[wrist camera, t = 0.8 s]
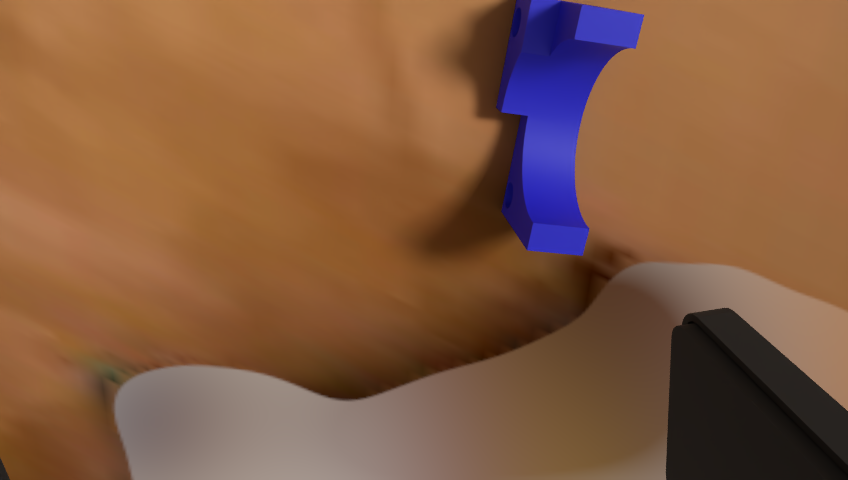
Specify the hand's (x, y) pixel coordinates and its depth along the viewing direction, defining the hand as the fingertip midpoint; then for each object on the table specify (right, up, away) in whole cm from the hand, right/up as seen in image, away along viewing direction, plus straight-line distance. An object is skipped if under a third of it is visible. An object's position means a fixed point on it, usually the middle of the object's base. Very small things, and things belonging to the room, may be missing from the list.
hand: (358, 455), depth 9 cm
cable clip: (+7, +10, +29) cm, 32 cm away
